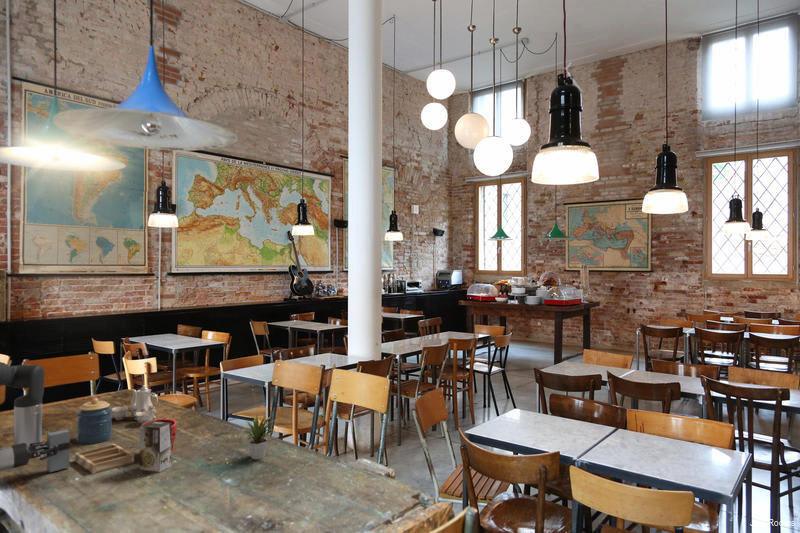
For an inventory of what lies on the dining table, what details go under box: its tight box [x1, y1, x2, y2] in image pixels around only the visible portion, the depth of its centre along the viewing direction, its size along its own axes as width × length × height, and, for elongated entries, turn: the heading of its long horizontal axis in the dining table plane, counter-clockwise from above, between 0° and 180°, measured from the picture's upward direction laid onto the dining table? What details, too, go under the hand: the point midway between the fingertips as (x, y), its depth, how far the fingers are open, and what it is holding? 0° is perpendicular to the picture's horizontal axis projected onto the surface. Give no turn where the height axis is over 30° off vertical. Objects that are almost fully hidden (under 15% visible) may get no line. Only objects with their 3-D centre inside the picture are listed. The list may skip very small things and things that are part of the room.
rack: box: [74, 443, 135, 475], centre depth 193 cm, size 18×14×3 cm
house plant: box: [241, 414, 277, 460], centre depth 198 cm, size 14×14×16 cm
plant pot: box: [141, 418, 178, 453], centre depth 201 cm, size 13×13×12 cm
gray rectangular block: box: [46, 429, 71, 473], centre depth 185 cm, size 4×6×13 cm, turn 140°
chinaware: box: [111, 384, 159, 425], centre depth 245 cm, size 28×17×17 cm, turn 72°
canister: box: [75, 397, 113, 445], centre depth 217 cm, size 13×13×18 cm
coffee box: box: [139, 420, 172, 473], centre depth 188 cm, size 9×6×16 cm
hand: (67, 444), depth 187 cm, fingers closed on gray rectangular block, 3 cm apart
